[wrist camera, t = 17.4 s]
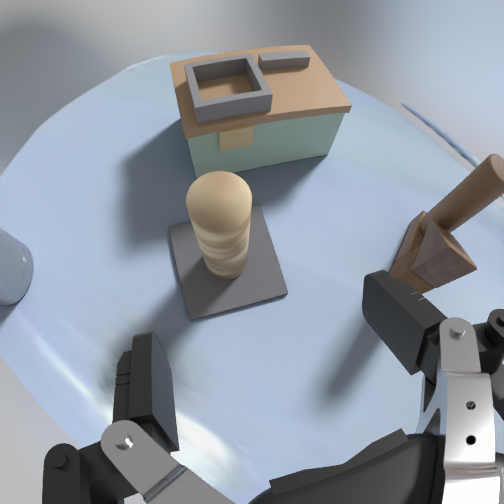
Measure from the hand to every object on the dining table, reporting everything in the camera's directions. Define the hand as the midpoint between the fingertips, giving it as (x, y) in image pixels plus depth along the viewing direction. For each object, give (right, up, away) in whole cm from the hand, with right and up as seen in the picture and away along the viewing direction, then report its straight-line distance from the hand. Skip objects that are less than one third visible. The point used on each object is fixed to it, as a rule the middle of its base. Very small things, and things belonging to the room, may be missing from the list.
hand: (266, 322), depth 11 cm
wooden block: (+19, +1, +25) cm, 32 cm away
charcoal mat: (-3, +2, +24) cm, 24 cm away
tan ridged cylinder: (-3, +2, +24) cm, 24 cm away
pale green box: (0, +19, +30) cm, 36 cm away
